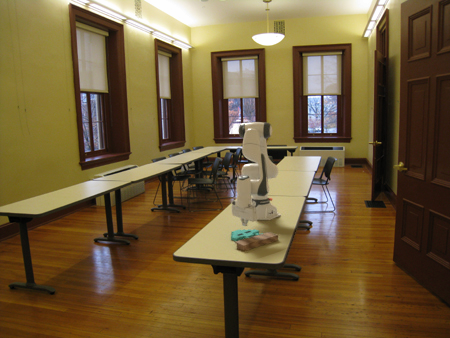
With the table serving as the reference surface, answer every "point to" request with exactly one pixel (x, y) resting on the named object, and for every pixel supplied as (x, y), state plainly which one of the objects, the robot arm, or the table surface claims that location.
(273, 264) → the table surface
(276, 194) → the table surface
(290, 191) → the table surface
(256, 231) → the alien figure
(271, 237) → the laid plank
